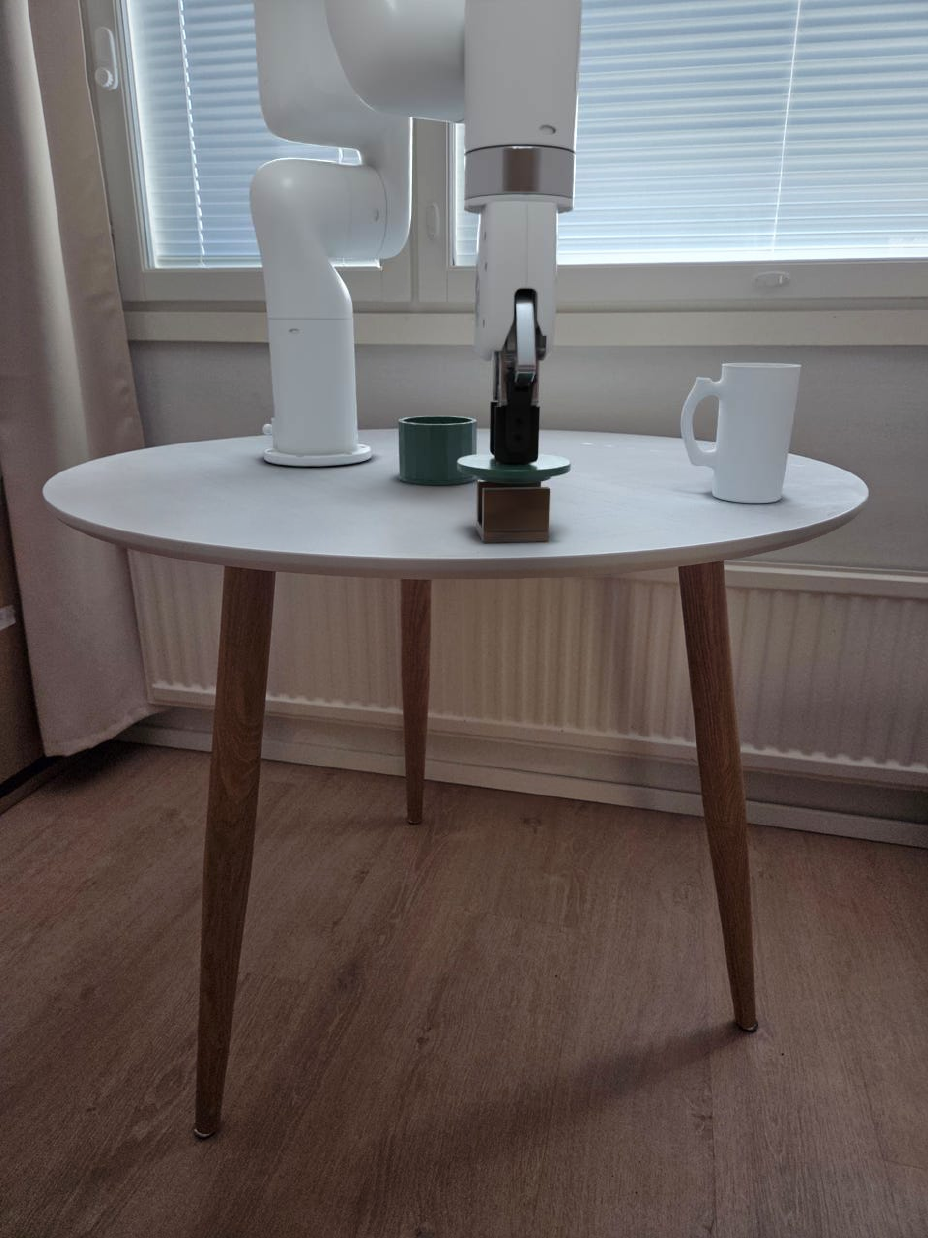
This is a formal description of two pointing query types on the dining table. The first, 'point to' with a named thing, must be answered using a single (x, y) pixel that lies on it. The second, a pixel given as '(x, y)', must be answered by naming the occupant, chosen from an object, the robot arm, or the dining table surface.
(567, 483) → the dining table surface
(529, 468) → the lid
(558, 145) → the robot arm
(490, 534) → the rack
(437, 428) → the pot
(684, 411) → the mug
